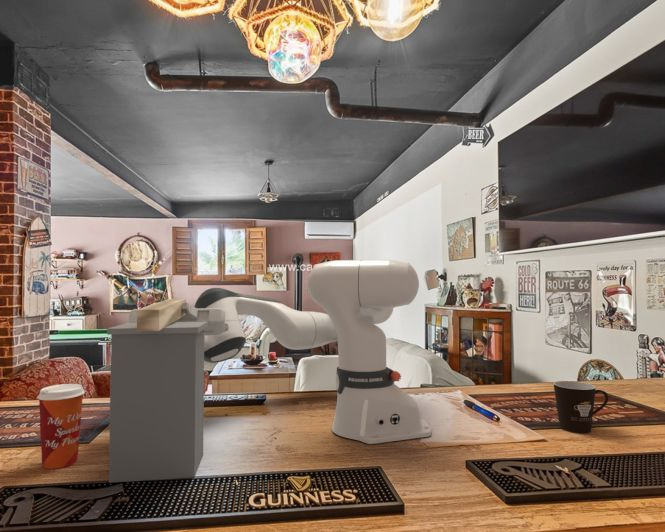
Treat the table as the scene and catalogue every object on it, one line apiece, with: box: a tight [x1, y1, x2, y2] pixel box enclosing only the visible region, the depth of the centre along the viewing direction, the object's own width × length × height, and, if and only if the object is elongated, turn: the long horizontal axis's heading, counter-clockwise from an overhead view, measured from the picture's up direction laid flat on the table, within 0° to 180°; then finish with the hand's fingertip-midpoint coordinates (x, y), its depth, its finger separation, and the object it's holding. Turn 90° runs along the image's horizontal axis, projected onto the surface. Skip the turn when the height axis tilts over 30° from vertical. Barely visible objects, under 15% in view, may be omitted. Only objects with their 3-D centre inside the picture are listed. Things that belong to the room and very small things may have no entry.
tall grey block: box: [106, 322, 207, 483], centre depth 81 cm, size 15×11×26 cm
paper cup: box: [36, 383, 86, 470], centre depth 83 cm, size 8×8×14 cm
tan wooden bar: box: [137, 298, 187, 331], centre depth 84 cm, size 4×23×4 cm, turn 8°
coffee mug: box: [553, 380, 609, 434], centre depth 101 cm, size 12×9×10 cm
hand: (172, 305), depth 91 cm, fingers closed on tan wooden bar, 3 cm apart
